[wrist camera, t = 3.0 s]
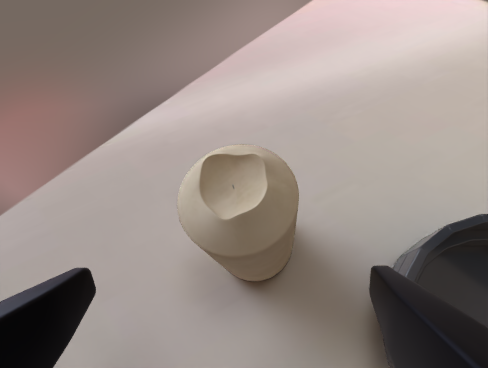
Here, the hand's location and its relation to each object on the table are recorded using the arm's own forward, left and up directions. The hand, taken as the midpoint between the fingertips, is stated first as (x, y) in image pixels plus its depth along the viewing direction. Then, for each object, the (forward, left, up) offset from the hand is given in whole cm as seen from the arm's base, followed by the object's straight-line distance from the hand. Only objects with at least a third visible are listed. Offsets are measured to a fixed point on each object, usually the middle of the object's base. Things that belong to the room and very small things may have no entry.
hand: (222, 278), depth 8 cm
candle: (+3, -2, -11) cm, 11 cm away
